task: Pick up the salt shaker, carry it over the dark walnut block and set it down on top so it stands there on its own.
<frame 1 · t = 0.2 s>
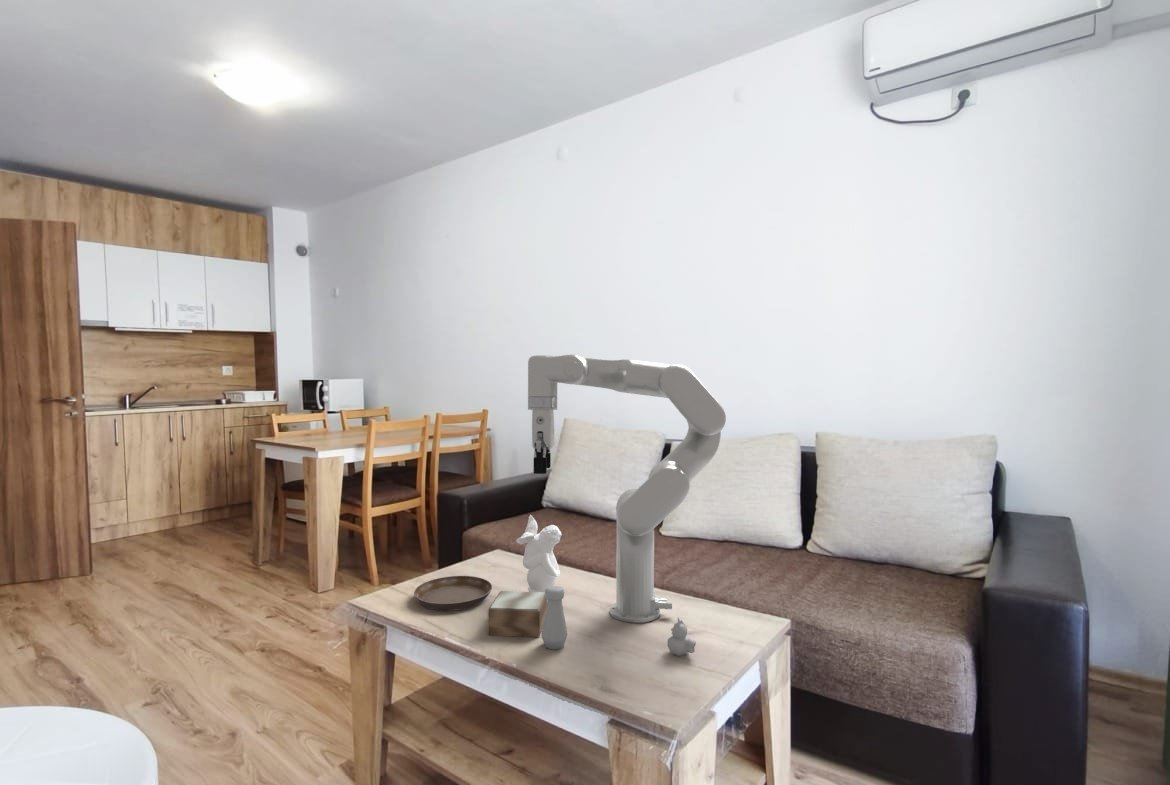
hand: (542, 470, 152), 36 cm above the table, tool pointing down, fingers open, 9 cm apart
cherub figurine: (535, 599, 161), on the table
plant saucer: (453, 600, 161), on the table
salt shaker: (554, 646, 132), on the table
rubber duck: (681, 655, 128), on the table
walnut block: (518, 625, 143), on the table
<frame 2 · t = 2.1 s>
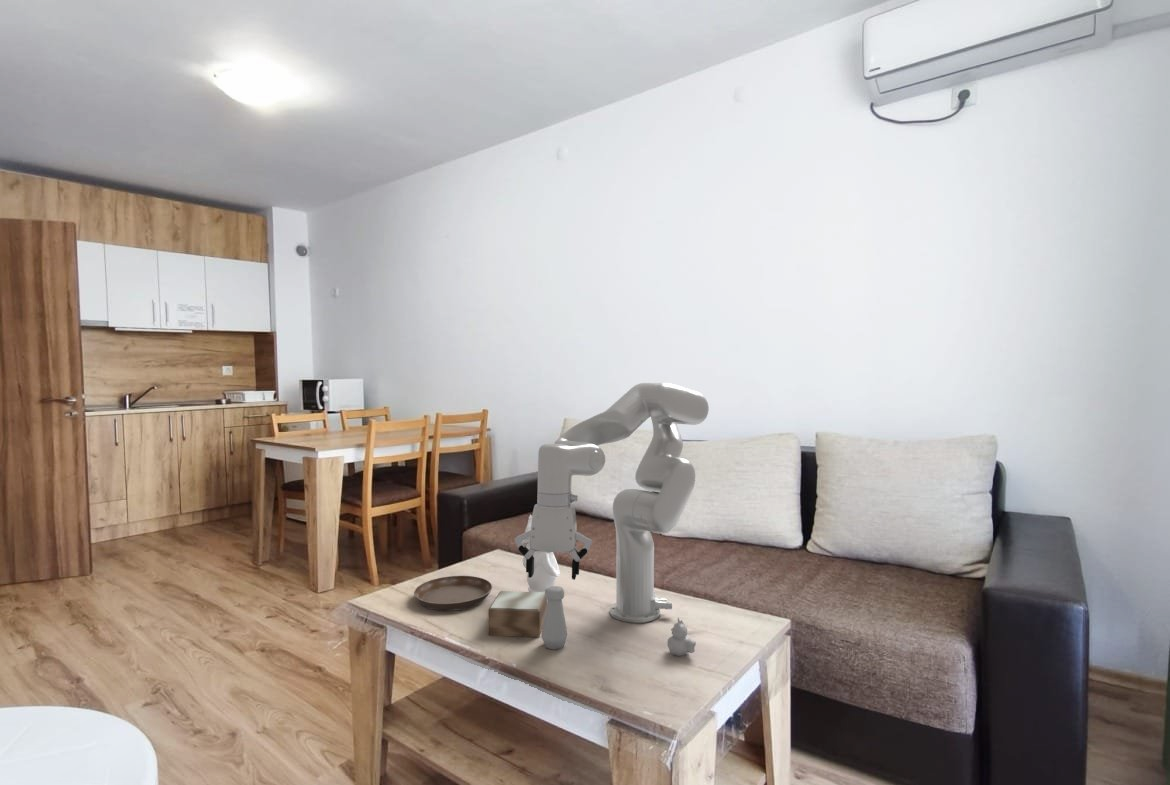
hand: (552, 576, 132), 16 cm above the table, tool pointing down, fingers open, 9 cm apart
nothing on the table moved.
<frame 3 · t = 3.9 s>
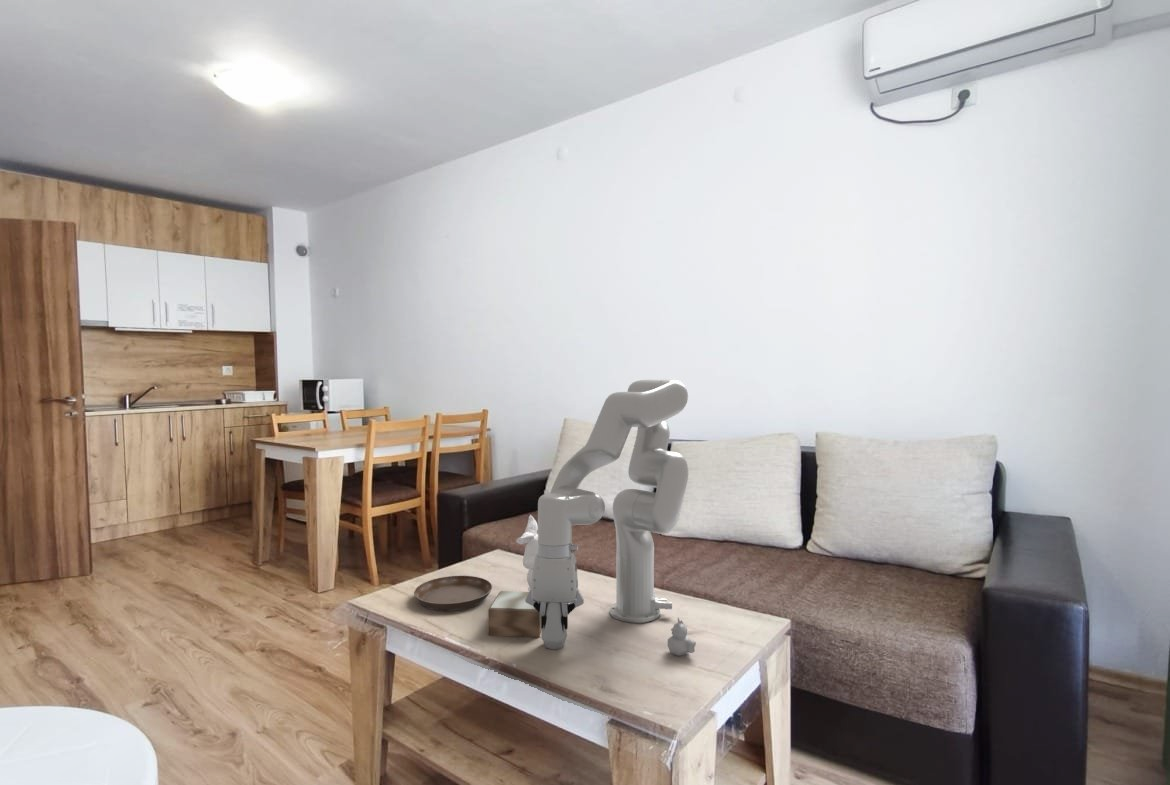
hand: (554, 631, 132), 3 cm above the table, tool pointing down, fingers closed on salt shaker, 3 cm apart
salt shaker: (554, 646, 132), on the table, touching gripper
everything else where it was.
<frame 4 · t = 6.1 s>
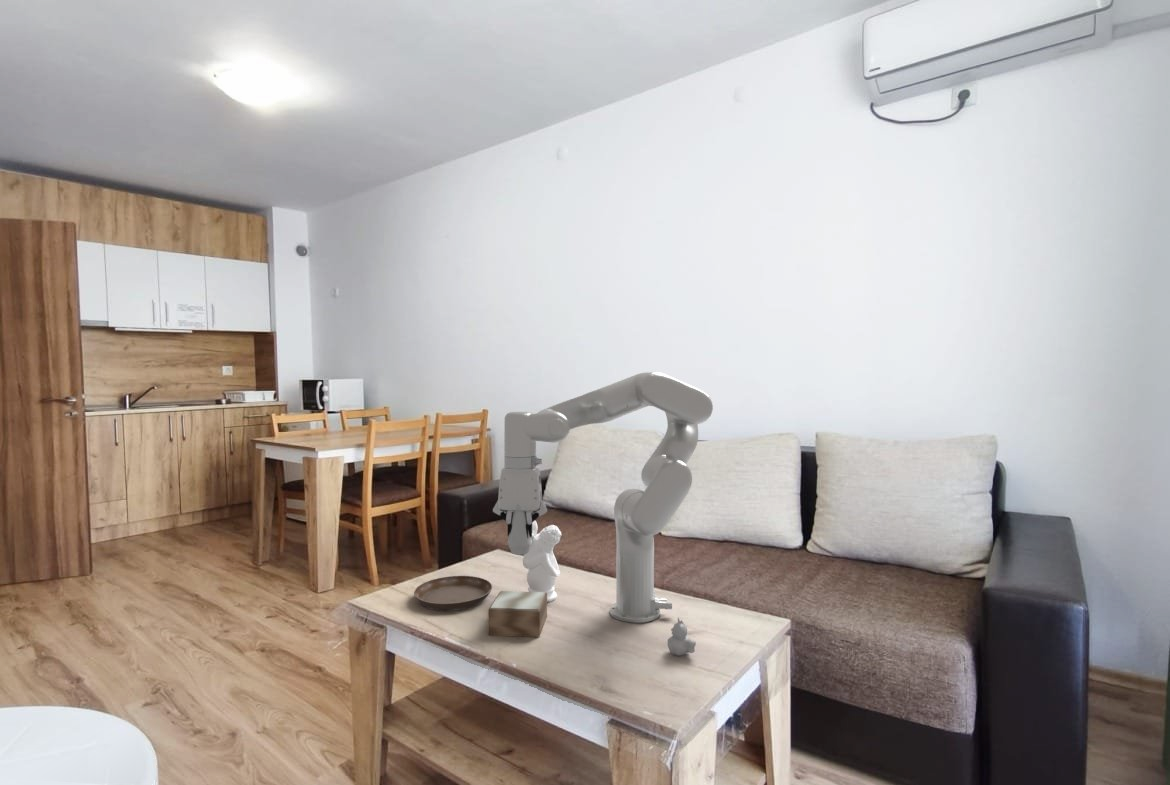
hand: (519, 538, 142), 21 cm above the table, tool pointing down, fingers closed on salt shaker, 3 cm apart
salt shaker: (519, 553, 142), point 18 cm above the table, touching gripper
everything else where it was.
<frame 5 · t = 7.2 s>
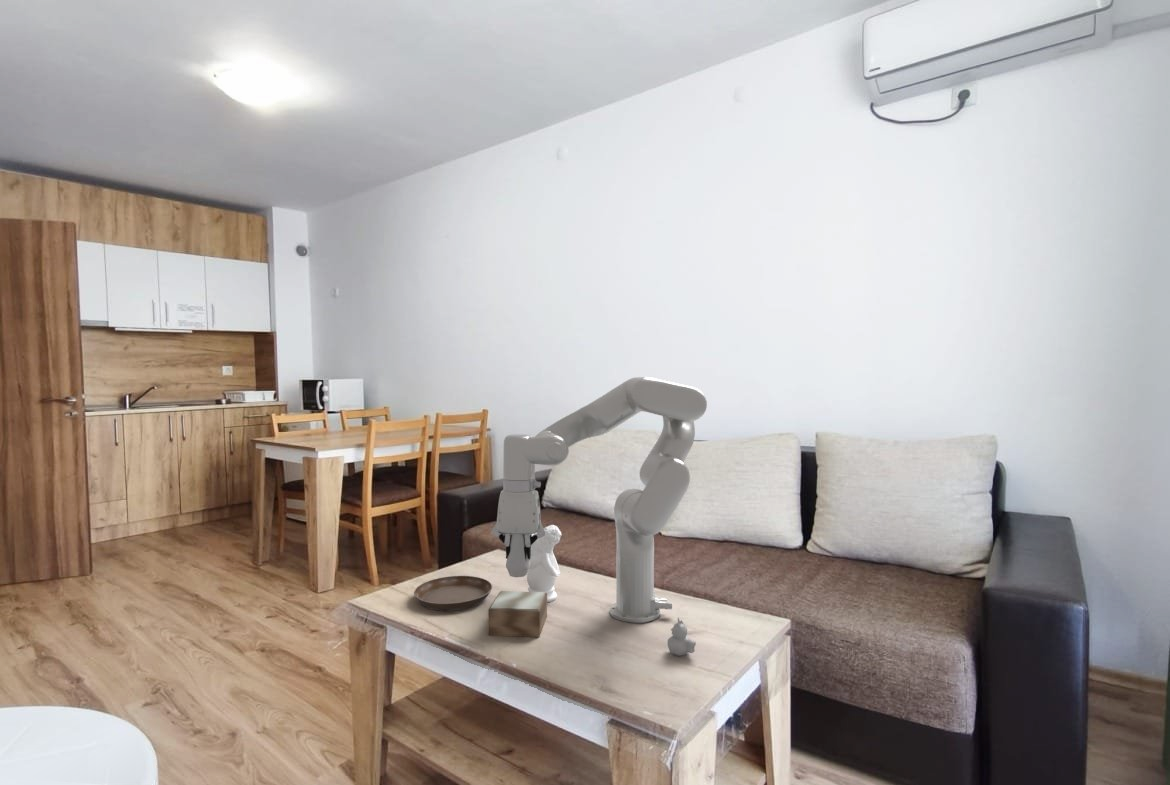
hand: (518, 561, 143), 16 cm above the table, tool pointing down, fingers closed on salt shaker, 3 cm apart
salt shaker: (517, 575, 143), point 12 cm above the table, touching gripper
everything else where it was.
when the fingers open (11 cm above the table, at t = 8.3 s): salt shaker stays where it is, resting on walnut block.
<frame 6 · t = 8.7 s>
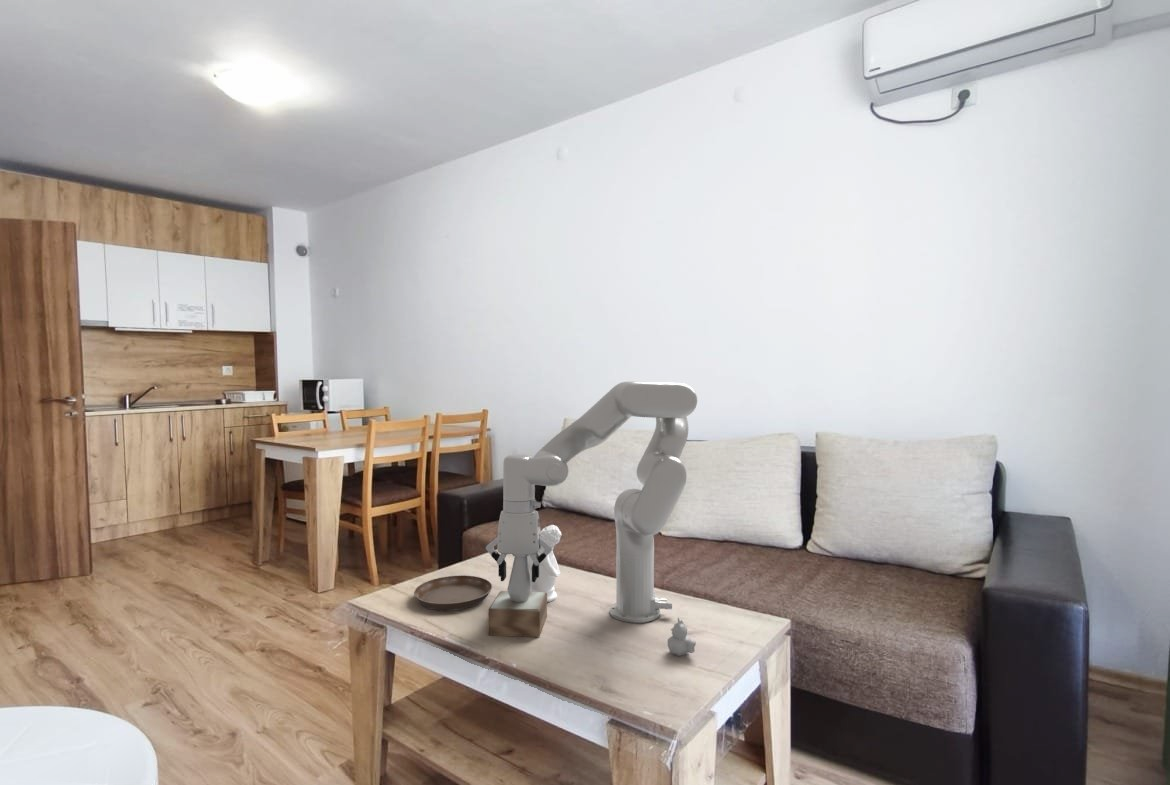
hand: (518, 579, 143), 11 cm above the table, tool pointing down, fingers open, 7 cm apart
salt shaker: (519, 600, 143), point 6 cm above the table, touching walnut block
everything else where it was.
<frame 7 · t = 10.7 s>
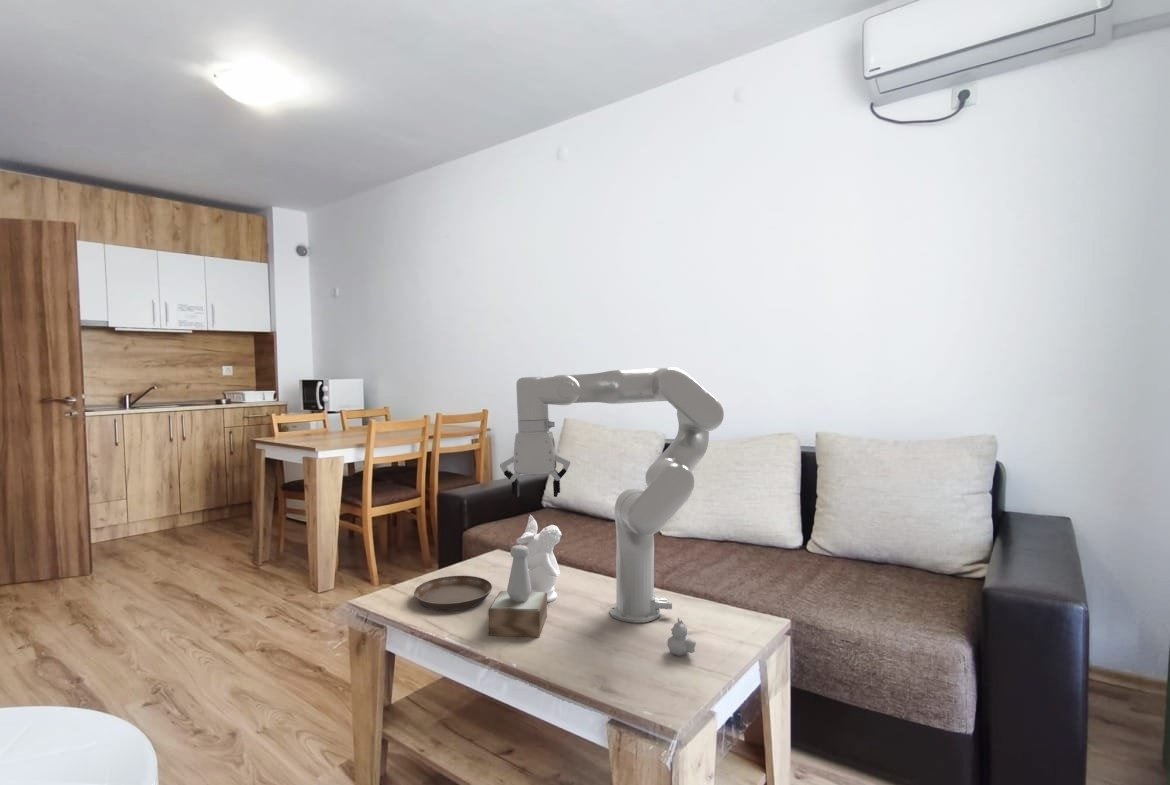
hand: (536, 496, 145), 31 cm above the table, tool pointing down, fingers open, 9 cm apart
nothing on the table moved.
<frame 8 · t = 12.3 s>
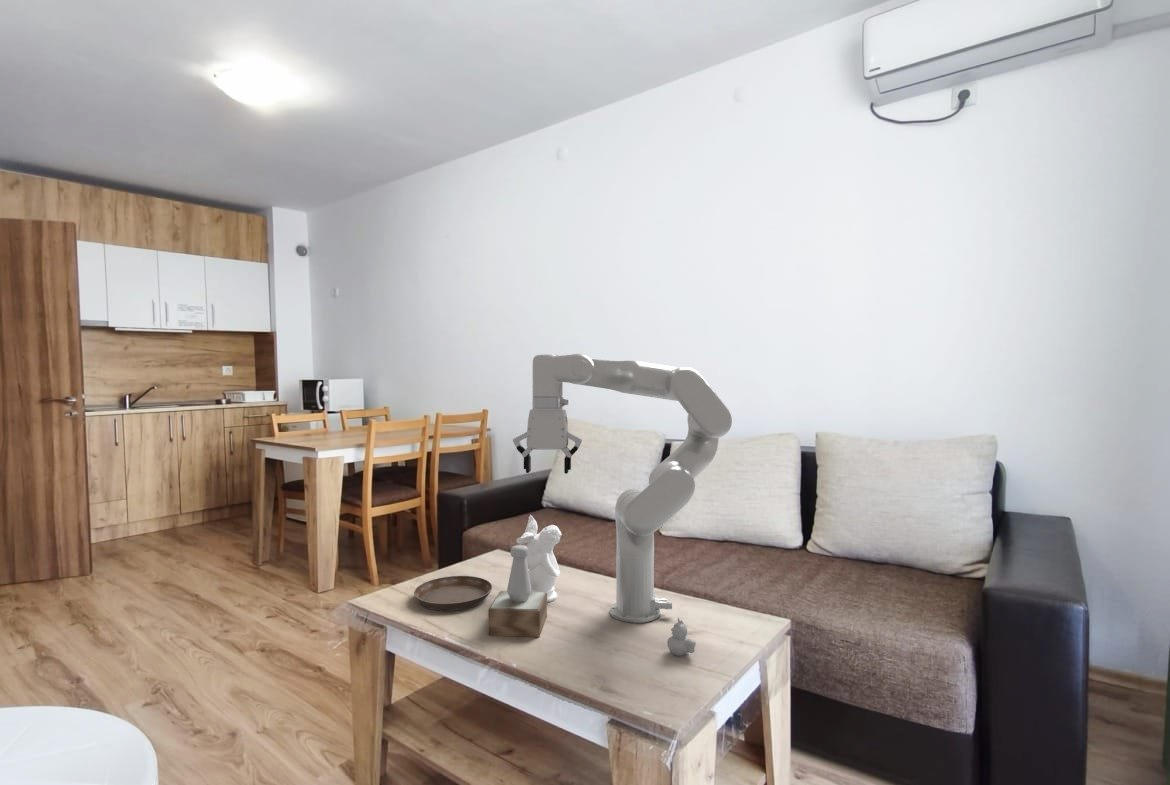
hand: (547, 472, 148), 36 cm above the table, tool pointing down, fingers open, 9 cm apart
nothing on the table moved.
at the end: salt shaker inside the target area on the walnut block (0.1 cm from its centre), point 6.1 cm above the walnut block's base; salt shaker tilted 0°; the gripper is holding nothing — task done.
